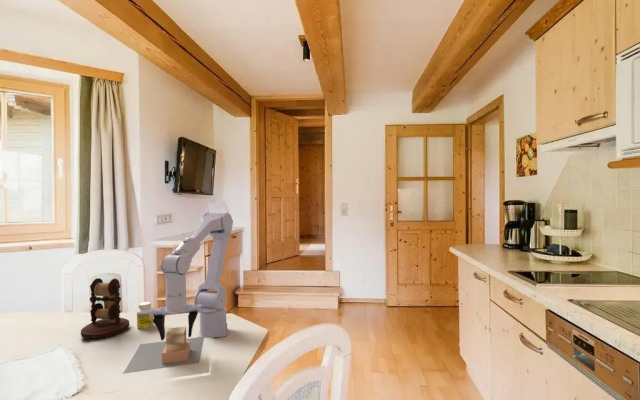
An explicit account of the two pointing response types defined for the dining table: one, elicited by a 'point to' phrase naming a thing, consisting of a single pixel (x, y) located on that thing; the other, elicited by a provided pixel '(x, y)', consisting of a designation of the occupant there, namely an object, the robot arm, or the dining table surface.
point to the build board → (155, 356)
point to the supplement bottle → (144, 316)
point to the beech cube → (176, 338)
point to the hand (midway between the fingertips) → (176, 337)
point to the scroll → (105, 310)
